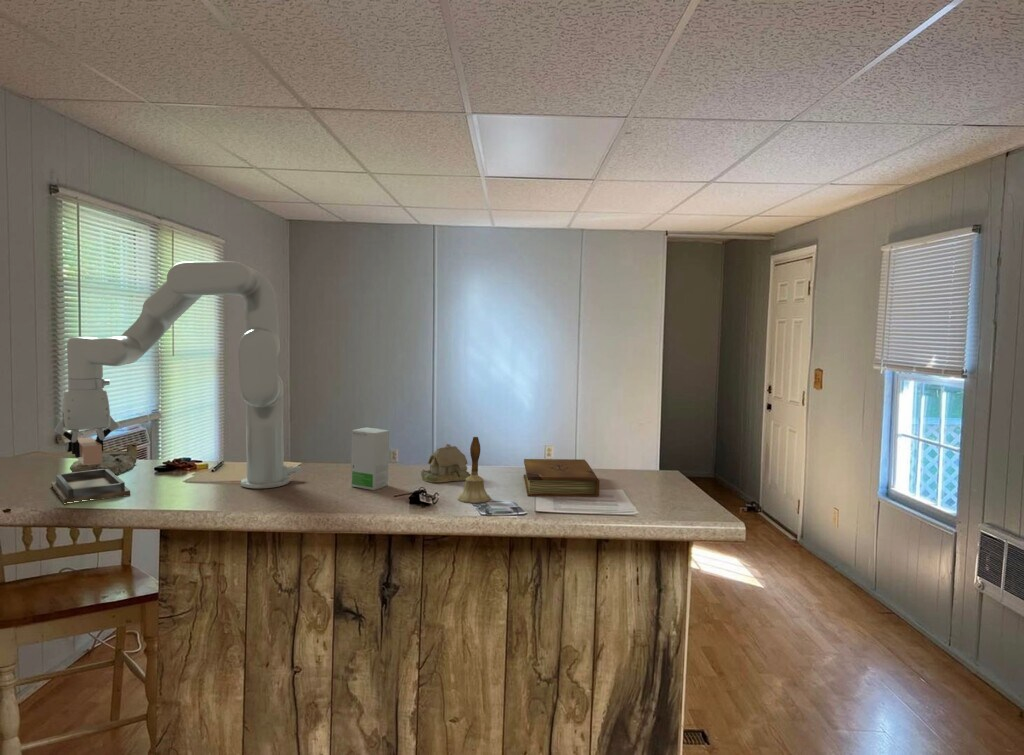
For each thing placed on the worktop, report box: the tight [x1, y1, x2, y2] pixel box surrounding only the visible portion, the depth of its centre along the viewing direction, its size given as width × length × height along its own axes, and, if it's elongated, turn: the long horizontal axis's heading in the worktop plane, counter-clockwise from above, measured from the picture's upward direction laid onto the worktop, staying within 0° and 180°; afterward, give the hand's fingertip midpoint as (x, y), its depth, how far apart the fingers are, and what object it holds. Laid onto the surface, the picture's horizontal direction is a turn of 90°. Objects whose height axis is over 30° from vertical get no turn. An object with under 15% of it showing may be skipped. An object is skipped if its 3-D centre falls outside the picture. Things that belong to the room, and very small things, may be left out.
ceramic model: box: [420, 443, 471, 483], centre depth 190 cm, size 14×11×10 cm
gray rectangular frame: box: [50, 469, 131, 504], centre depth 172 cm, size 14×22×3 cm, turn 41°
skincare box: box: [350, 426, 390, 491], centre depth 180 cm, size 8×7×16 cm
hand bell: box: [457, 436, 491, 504], centre depth 168 cm, size 8×8×16 cm
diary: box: [523, 458, 600, 498], centre depth 184 cm, size 23×19×6 cm
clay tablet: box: [69, 451, 137, 475], centre depth 197 cm, size 14×5×20 cm
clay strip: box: [73, 437, 103, 465], centre depth 171 cm, size 4×14×4 cm, turn 41°
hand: (87, 455), depth 171 cm, fingers closed on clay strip, 4 cm apart
